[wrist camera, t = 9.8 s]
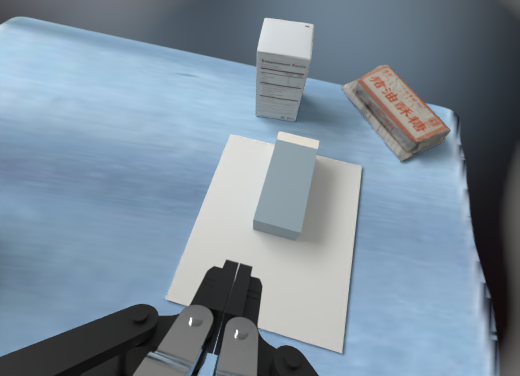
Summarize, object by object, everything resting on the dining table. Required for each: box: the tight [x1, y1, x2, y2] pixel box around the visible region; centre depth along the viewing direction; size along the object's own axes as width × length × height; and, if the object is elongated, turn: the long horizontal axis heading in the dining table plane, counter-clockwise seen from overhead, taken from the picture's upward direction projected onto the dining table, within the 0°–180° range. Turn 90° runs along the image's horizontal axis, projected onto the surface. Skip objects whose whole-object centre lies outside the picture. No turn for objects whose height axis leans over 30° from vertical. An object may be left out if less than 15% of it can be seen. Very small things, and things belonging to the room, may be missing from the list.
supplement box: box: [255, 18, 314, 121], centre depth 39 cm, size 7×7×13 cm
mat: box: [165, 134, 362, 353], centre depth 35 cm, size 22×26×1 cm
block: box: [253, 131, 319, 241], centre depth 35 cm, size 6×4×14 cm
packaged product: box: [341, 65, 450, 161], centre depth 43 cm, size 18×5×10 cm
